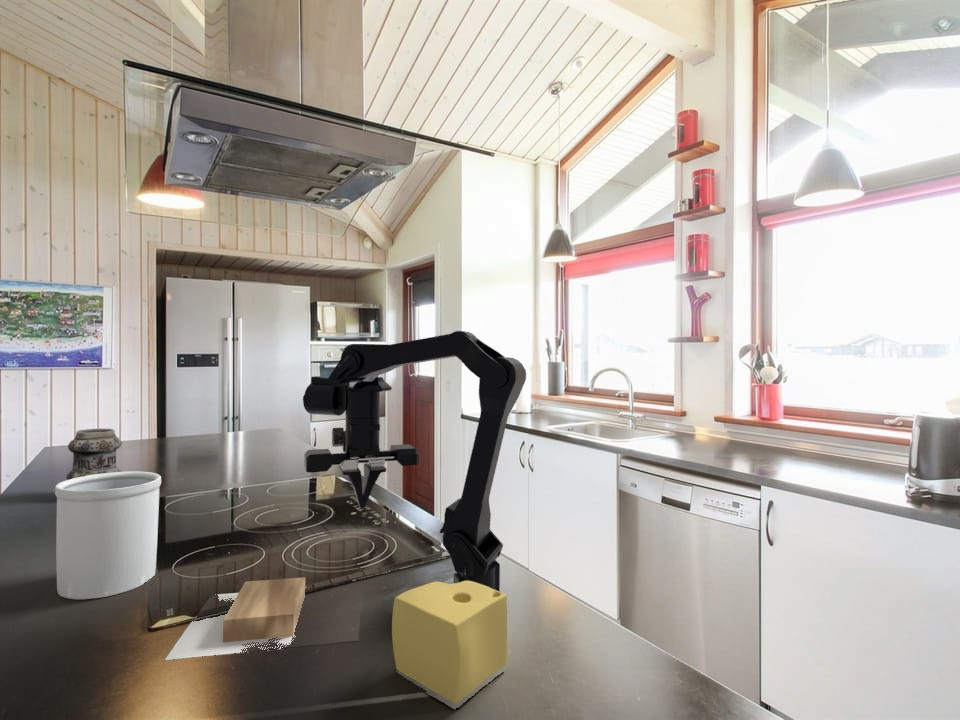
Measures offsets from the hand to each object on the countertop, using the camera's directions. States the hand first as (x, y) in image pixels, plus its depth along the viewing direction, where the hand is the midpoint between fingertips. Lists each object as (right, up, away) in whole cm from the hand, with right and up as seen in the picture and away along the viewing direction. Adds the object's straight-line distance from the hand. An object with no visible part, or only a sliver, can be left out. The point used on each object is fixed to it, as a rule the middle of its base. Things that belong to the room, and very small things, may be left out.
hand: (361, 507), depth 89 cm
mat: (-9, -13, -13) cm, 20 cm away
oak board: (-6, -11, -12) cm, 18 cm away
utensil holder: (-43, -13, 0) cm, 45 cm away
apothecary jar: (-85, -12, +53) cm, 101 cm away
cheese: (+17, -14, -25) cm, 33 cm away
